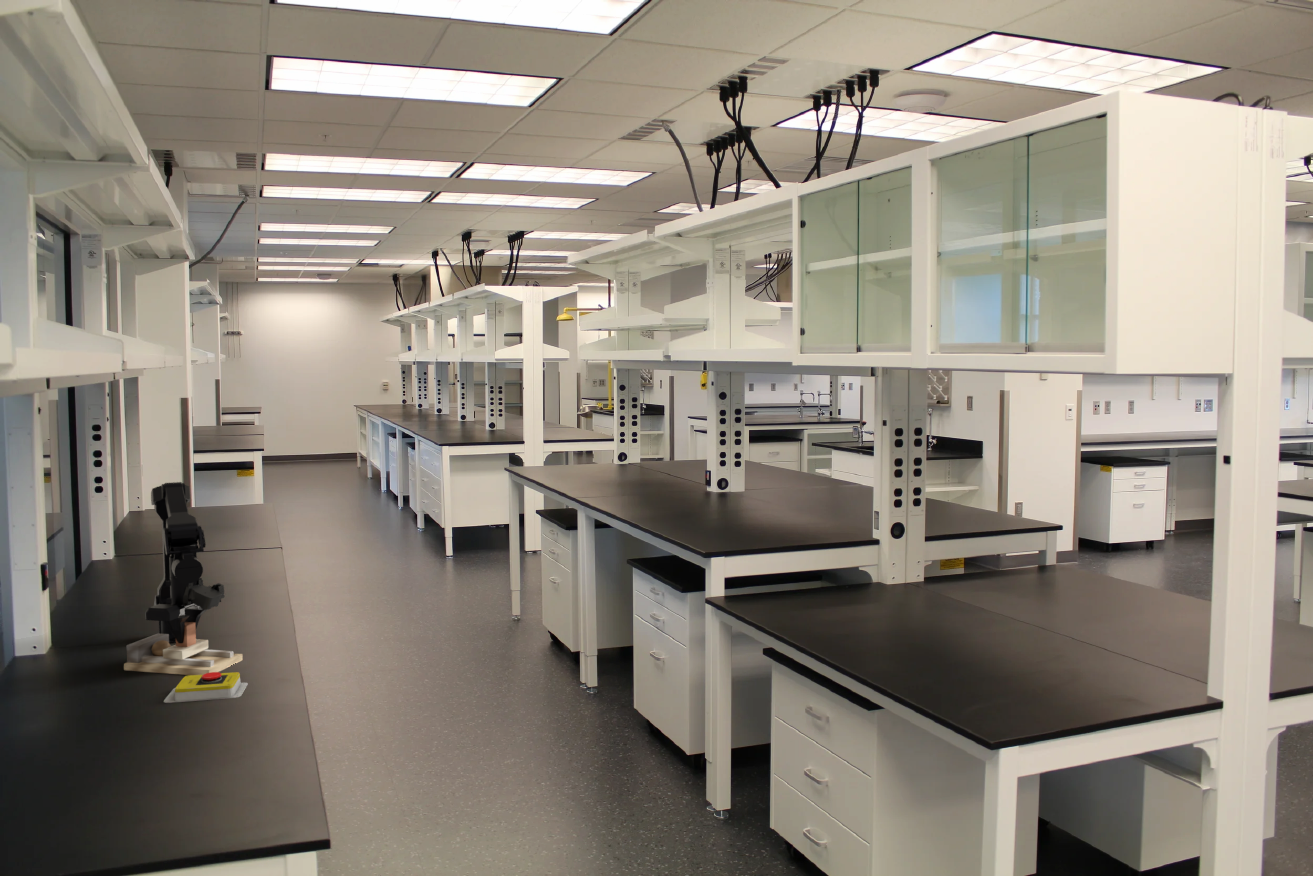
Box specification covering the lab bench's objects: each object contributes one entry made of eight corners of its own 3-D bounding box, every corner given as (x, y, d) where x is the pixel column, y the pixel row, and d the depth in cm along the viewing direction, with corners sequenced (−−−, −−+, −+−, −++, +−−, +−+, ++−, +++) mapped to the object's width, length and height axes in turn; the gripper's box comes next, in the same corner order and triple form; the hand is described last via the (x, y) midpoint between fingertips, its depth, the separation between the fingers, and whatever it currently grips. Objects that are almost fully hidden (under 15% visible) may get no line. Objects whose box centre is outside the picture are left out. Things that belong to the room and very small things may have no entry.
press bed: (124, 670, 210) (123, 646, 209) (161, 654, 221) (160, 632, 221) (209, 676, 206) (208, 652, 205) (242, 660, 217) (242, 637, 217)
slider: (163, 658, 209) (162, 628, 209) (189, 646, 218) (189, 618, 218) (182, 659, 208) (181, 629, 208) (208, 648, 217) (207, 619, 217)
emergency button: (239, 679, 192) (161, 685, 189) (240, 699, 193) (162, 705, 189) (248, 665, 201) (173, 670, 198) (248, 685, 202) (174, 690, 198)
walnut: (148, 659, 213) (147, 642, 213) (160, 654, 217) (159, 637, 216) (163, 660, 212) (162, 643, 212) (175, 655, 216) (174, 638, 216)
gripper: (186, 586, 201) (188, 655, 202) (240, 568, 220) (241, 632, 221) (142, 583, 203) (144, 652, 204) (199, 566, 222) (200, 629, 223)
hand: (185, 641), depth 213 cm, fingers closed on slider, 3 cm apart
